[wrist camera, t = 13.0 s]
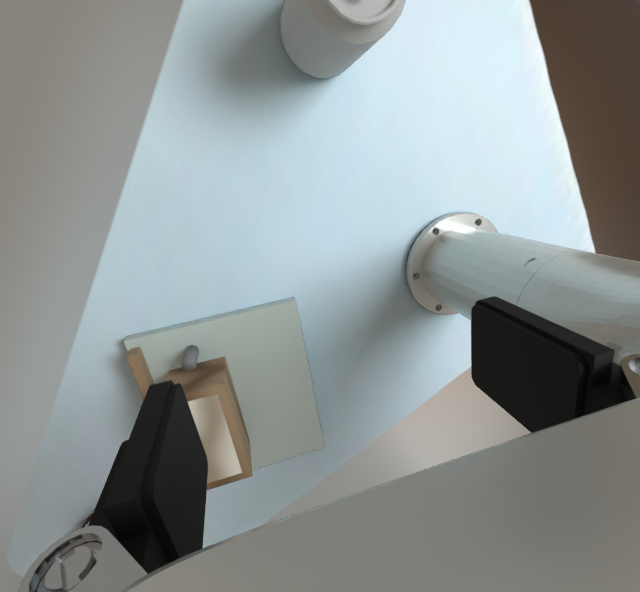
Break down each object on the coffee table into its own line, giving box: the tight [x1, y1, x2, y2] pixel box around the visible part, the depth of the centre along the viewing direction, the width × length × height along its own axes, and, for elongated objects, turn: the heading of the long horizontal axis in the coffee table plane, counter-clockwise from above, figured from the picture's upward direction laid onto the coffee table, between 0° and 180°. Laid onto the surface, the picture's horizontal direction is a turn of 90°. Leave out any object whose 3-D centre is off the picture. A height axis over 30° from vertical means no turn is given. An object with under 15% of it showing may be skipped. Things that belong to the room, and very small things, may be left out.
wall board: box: [124, 297, 324, 470], centre depth 40 cm, size 18×21×4 cm
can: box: [280, 0, 406, 79], centre depth 27 cm, size 8×8×12 cm
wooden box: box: [166, 356, 252, 490], centre depth 38 cm, size 6×12×6 cm, turn 9°
